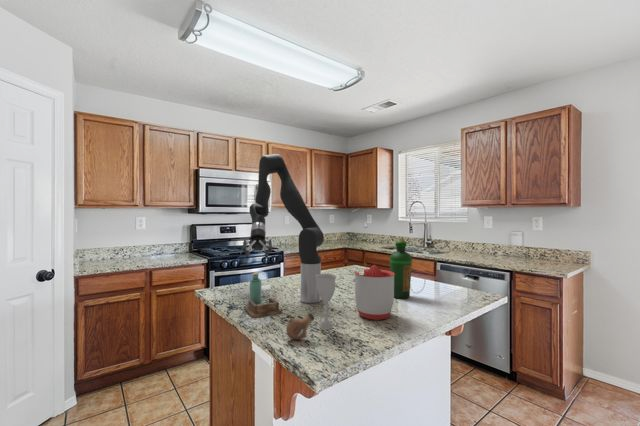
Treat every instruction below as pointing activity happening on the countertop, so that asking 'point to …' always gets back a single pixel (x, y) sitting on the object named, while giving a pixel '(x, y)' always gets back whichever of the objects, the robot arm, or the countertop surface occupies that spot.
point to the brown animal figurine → (298, 327)
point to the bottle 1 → (255, 288)
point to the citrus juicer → (374, 293)
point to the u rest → (263, 308)
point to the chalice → (326, 295)
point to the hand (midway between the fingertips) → (256, 258)
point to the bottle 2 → (401, 270)
